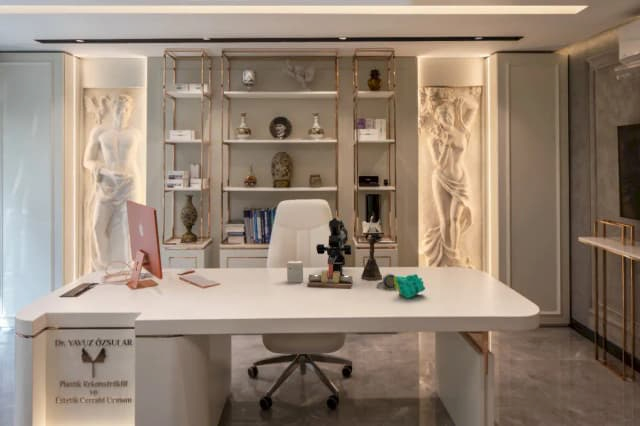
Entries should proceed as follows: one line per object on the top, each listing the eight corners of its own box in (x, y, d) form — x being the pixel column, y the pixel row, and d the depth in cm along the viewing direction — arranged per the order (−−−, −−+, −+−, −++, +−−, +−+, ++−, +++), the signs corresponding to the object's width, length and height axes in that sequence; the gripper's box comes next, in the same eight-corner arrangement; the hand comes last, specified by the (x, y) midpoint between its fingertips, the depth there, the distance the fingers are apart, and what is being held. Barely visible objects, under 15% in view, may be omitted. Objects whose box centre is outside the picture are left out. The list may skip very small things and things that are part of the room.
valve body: (310, 280, 256) (310, 270, 256) (352, 282, 253) (352, 271, 253) (308, 282, 252) (308, 271, 252) (351, 283, 249) (351, 273, 248)
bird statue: (386, 282, 259) (387, 216, 257) (361, 282, 260) (362, 216, 258) (384, 276, 276) (385, 214, 273) (361, 275, 277) (361, 214, 274)
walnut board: (311, 282, 260) (311, 279, 260) (352, 283, 257) (352, 280, 257) (307, 286, 248) (307, 284, 248) (350, 288, 245) (350, 285, 245)
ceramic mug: (396, 285, 251) (396, 271, 251) (397, 289, 244) (397, 274, 243) (376, 286, 252) (376, 271, 251) (377, 289, 244) (377, 274, 243)
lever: (328, 278, 254) (328, 257, 253) (333, 279, 253) (333, 258, 252) (327, 279, 252) (327, 258, 251) (333, 279, 251) (333, 258, 250)
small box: (303, 280, 264) (303, 261, 263) (302, 282, 259) (302, 263, 258) (288, 280, 265) (288, 260, 264) (287, 282, 259) (286, 262, 259)
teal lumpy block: (391, 277, 238) (416, 266, 237) (402, 300, 236) (427, 288, 235) (390, 278, 224) (416, 266, 222) (402, 302, 221) (428, 289, 220)
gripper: (316, 229, 265) (313, 252, 255) (351, 230, 263) (349, 253, 252) (319, 242, 274) (315, 265, 264) (352, 242, 271) (350, 266, 261)
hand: (332, 262), depth 260 cm, fingers closed
